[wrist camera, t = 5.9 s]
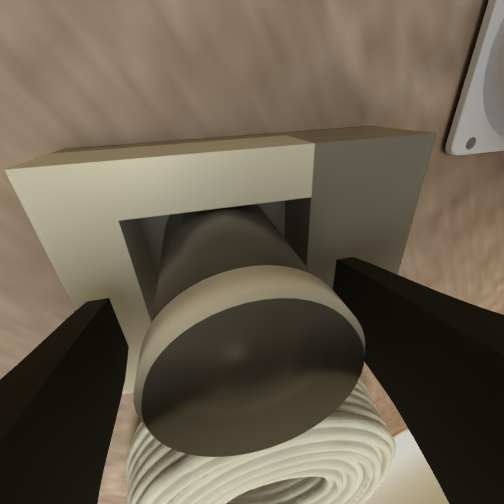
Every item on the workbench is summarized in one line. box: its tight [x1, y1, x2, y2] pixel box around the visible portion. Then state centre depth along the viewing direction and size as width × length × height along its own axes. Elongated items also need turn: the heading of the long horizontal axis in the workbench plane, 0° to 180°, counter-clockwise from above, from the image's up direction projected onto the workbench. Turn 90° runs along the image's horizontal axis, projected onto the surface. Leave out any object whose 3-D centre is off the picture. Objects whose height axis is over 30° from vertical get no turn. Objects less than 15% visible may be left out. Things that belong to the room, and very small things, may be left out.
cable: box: [125, 378, 396, 504], centre depth 18 cm, size 18×18×6 cm
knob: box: [134, 204, 365, 457], centre depth 8 cm, size 5×5×7 cm
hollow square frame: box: [5, 126, 436, 395], centre depth 11 cm, size 12×9×4 cm
